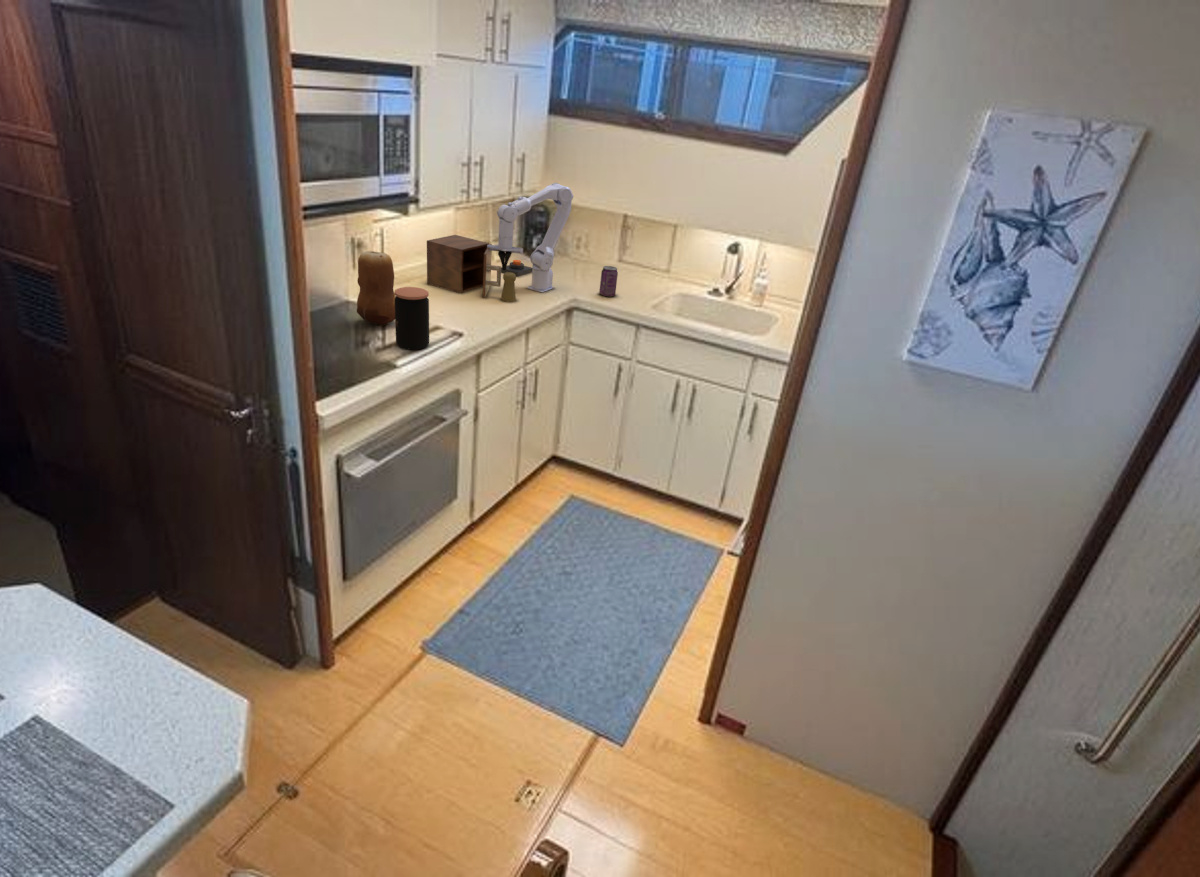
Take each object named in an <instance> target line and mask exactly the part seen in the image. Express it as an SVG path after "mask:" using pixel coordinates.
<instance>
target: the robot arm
mask: <svg viewBox="0 0 1200 877" xmlns="http://www.w3.org/2000/svg"><path fill="white" fill-rule="evenodd" d="M573 199H574V194H573V192H572V189H571V188H570V187H568V186H565V185H562V184H560V183H558V182H553V183H551V184H549V185H546V186H545V187H544V188H543V189H540V190H539V191H537V192H536V193H534V194H532V195H530V196H529V197H526V196H518V197H517V199H516V200H514V201H512V202H511V201H510V202H508V203H507V204H502V205H500V206H499V208H498V210H497V211H496V215H497V217H498V220H499V222H498V244H492V245H488V246H487V248H490V250H491V251H492V252H497V254H498V257H499V260H500V263H501V267H502V270H506V267H507V266H508V262H509V260H510V258H511V257H512V254H520V255H523V254H524V248H522V247H517V246H516V247H515V246H513V241H514V222H515V221H516V219H517V217H519V216H522V215H523V214H526V213H527V212H529V211H531V208H532V206H535V205H537V204H539V203H542V202H544V201H547V200H551V201H553V203H554V205H555V207H556V211H555V214H554V215H553V217H552V220H551V222H550V224H549V227H548V229H547V231H546V233H545V235H544V237H543V240H542V242H541V243H540V244H539V245H538V246H536V248H535V250H534V251H533V252H532V253H531V254H530V258H529V260H530V262H531V264H532V267H531V268H532V273H531V285H530V286H527V288H526V289H528V290H531V291H535V292H539V293H545V292H548V291H551V290H553V289H555V287H554V286H553V281H554V280H553V279H554V272H553V270H552V269H551V268H552V267H553V265H554V258H555V253H554V250H555V247H556V245H557V243H558V241H559V238H560V236H561V234H562V231H563V229H564V228H565V226H566V223H567V221H568V218H569V217H570V214H571V212H572V204H573V202H572V201H573Z"/></svg>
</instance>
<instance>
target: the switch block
mask: <svg viewBox="0 0 1200 877" xmlns="http://www.w3.org/2000/svg"><path fill="white" fill-rule="evenodd" d="M532 268H533V267H531V266H527V265H525V264H524V263H523V262H521V265H514V264H513V261H511V262H509V264H507V267H506V270H502V266H501V274H504V273H506V272H511V273H514V274H515V275H516V278H519V277H523V276H525V275H528V274H532Z"/></svg>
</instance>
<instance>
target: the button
mask: <svg viewBox="0 0 1200 877" xmlns="http://www.w3.org/2000/svg"><path fill="white" fill-rule="evenodd" d="M512 262H513V264H514V265H521V263H522V260H521V259H520V260H519V259H513V260H512Z"/></svg>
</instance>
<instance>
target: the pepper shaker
mask: <svg viewBox="0 0 1200 877" xmlns="http://www.w3.org/2000/svg"><path fill="white" fill-rule="evenodd" d="M502 279H503V285H502V291H501V297H500V300H501V301H503V302H506V303H514V302H516V301H517V296H516V285H515V282H516V280H517V277H516V275H515V274H514V273H511V272H506V273H503V275H502Z"/></svg>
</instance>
